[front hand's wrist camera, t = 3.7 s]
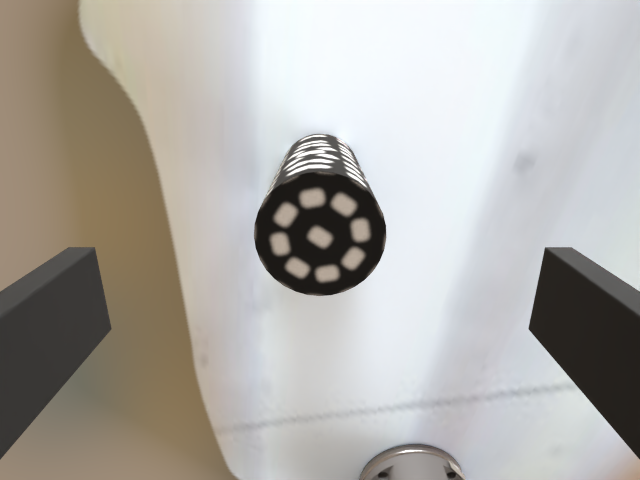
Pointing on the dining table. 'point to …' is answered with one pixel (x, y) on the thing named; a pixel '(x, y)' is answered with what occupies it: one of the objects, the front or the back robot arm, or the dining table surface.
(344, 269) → the black white spotted cylinder
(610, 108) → the dining table surface
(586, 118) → the dining table surface
